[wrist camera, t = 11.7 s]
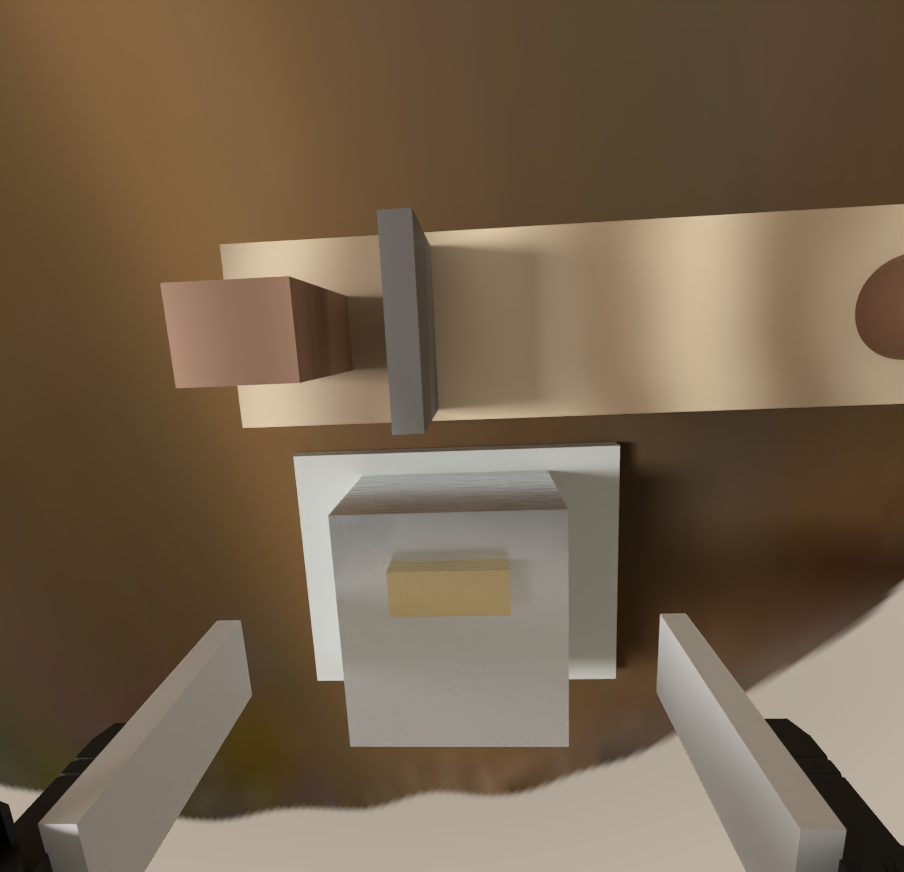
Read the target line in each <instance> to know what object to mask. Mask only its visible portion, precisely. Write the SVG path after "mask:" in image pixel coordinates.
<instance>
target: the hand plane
mask: <svg viewBox="0 0 904 872" xmlns="http://www.w3.org/2000/svg"><path fill="white" fill-rule="evenodd" d="M377 221H378V235H374V236H357V237H340V238H323V239H306V240H289V241H272V242H255V243H239V244H222V245H220V251H221V259H222V267H223V275H224V280H208V281H190V282H172V283H160V284H161V291H162V298H163V304H164V311H165V318H166V324H167V331H168V338H169V344H170V351H171V358H172V364H173V371H174V378H175V385H176V388H192V387H216V386H238V394H239V402H240V410H241V418H242V425H243V428H255V427H282V426H309V425H336V424H363V423H390V422H391V424H392V435H400V434H425V432H426V430H427V428H428V427H429V425H430V423H431V421H445V420H472V419H499V418H526V417H553V416H581V415H608V414H635V413H662V412H689V411H716V410H744V409H771V408H798V407H825V406H852V405H879V404H904V204H897V205H881V206H864V207H847V208H830V209H813V210H796V211H779V212H762V213H745V214H728V215H712V216H695V217H678V218H661V219H644V220H627V221H610V222H593V223H576V224H560V225H543V226H526V227H509V228H492V229H475V230H458V231H441V232H423V230H422V228H421V226H420V224H419V222H418V220H417V218H416V216H415V213H414V211H413V209H412V208H400V209H384V210H377Z"/></svg>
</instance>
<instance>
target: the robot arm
mask: <svg viewBox="0 0 904 872" xmlns="http://www.w3.org/2000/svg"><path fill="white" fill-rule="evenodd" d="M656 692H657V694H658V696H659V698H660V700H661V702H662V704H663V706H664V708H665V710H666V712H667V714H668V716H669V718H670V720H671V722H672V724H673V726H674V728H675V730H676V732H677V734H678V736H679V738H680V740H681V742H682V744H683V746H684V748H685V750H686V752H687V754H688V756H689V758H690V760H691V762H692V764H693V766H694V768H695V770H696V772H697V774H698V776H699V778H700V780H701V782H702V784H703V786H704V788H705V790H706V792H707V794H708V796H709V798H710V800H711V802H712V804H713V806H714V808H715V810H716V812H717V814H718V816H719V818H720V820H721V822H722V824H723V826H724V828H725V830H726V832H727V834H728V836H729V838H730V840H731V842H732V844H733V846H734V848H735V850H736V852H737V854H738V856H739V858H740V860H741V862H742V864H743V866H744V868H745V870H746V872H904V846H902V845H900V844H899V843H898V842H897V841H896V839H895V838H894V837H893V836H892V834H891V833H890V832H889V831H888V830H887V828H886V827H885V826H884V825H883V824H882V822H881V821H880V820H879V819H878V817H877V816H876V815H875V814H874V813H873V811H872V810H871V809H870V808H869V807H868V805H867V804H866V803H865V802H864V800H863V799H862V798H861V797H860V796H859V794H857V792H856V791H855V790H854V788H853V787H852V786H851V785H850V784H849V782H848V781H847V780H846V779H845V778H844V777H842V776H841V773H840V771H839V770H838V769H837V768H836V767H835V765H834V764H833V763H832V762H831V761H830V760H828V759H827V756H826V754H825V753H824V752H823V751H822V750H821V748H820V747H819V746H818V745H817V743H816V742H815V741H814V740H813V739H812V737H811V736H810V735H808V734H807V733H805V732H804V731H803V730H802V729H800V728H799V727H798V726H796V725H795V724H793V723H792V722H791V721H790V720H788V719H764V718H763V717H762V716H761V714H760V713H759V711H758V710H757V709H756V707H755V706H754V704H753V703H752V702H751V700H750V699H749V698H748V696H747V695H746V694H745V692H744V691H743V690H742V688H741V687H740V686H739V684H738V683H737V682H736V680H735V679H734V678H733V676H732V675H731V673H730V672H729V671H728V669H727V668H726V667H725V665H724V664H723V663H722V661H721V660H720V659H719V657H718V656H717V655H716V653H715V652H714V651H713V649H712V648H711V647H710V645H709V644H708V643H707V641H706V640H705V638H704V637H703V636H702V634H701V633H700V632H699V630H698V629H697V628H696V626H695V625H694V624H693V622H692V621H691V620H690V618H689V617H688V616H687V614H686V613H676V614H660V627H659V648H658V670H657V691H656ZM251 696H252V692H251V686H250V679H249V673H248V666H247V659H246V653H245V646H244V640H243V633H242V626H241V620H233V621H217V622H216V623H215V624H214V625H213V626H212V627H211V628H210V630H209V631H208V632H207V633H206V634H205V635H204V636H203V637H202V639H201V640H200V641H199V642H198V643H197V644H196V645H195V647H194V648H193V649H192V650H191V651H190V652H189V653H188V654H187V656H186V657H185V658H184V659H183V660H182V661H181V662H180V663H179V665H178V666H177V667H176V668H175V669H174V670H173V671H172V673H171V674H170V675H169V676H168V677H167V678H166V679H165V680H164V682H163V683H162V684H161V685H160V686H159V687H158V688H157V689H156V691H155V692H154V693H153V694H152V695H151V696H150V697H149V699H148V700H147V701H146V702H145V703H144V704H143V705H142V706H141V708H140V709H139V710H138V711H137V712H136V713H135V714H134V715H133V717H132V718H131V719H130V720H129V721H128V722H127V723H115V724H113V725H112V726H111V727H109V728H108V729H106V730H105V731H104V732H102V733H101V734H99V735H98V736H97V737H95V738H94V739H92V740H91V742H90V743H89V744H88V745H87V746H86V747H85V748H84V749H83V750H82V751H81V752H80V753H79V754H78V755H77V757H76V758H75V761H74V762H71V763H70V764H69V765H68V766H67V767H66V768H65V769H64V770H63V772H62V773H61V775H60V777H59V778H56V779H55V780H54V781H53V782H52V783H51V784H50V785H49V787H48V788H47V789H46V790H45V791H44V792H43V793H42V794H41V795H40V796H39V797H38V798H37V799H36V801H35V802H34V803H33V804H32V805H31V806H30V807H29V808H28V809H27V810H26V811H25V812H24V813H23V814H22V816H21V817H20V818H19V819H18V820H17V821H16V822H15V823H14V822H13V819H12V815H11V811H10V808H9V805H8V804H6V803H3V802H1V801H0V872H144V871H145V870H146V868H147V866H148V865H149V863H150V862H151V860H152V858H153V857H154V855H155V853H156V852H157V850H158V848H159V847H160V845H161V843H162V842H163V840H164V839H165V837H166V835H167V834H168V832H169V830H170V829H171V827H172V826H173V824H174V822H175V821H176V819H177V817H178V816H179V814H180V812H181V811H182V809H183V807H184V806H185V804H186V803H187V801H188V799H189V798H190V796H191V794H192V793H193V791H194V789H195V788H196V786H197V784H198V783H199V781H200V780H201V778H202V776H203V775H204V773H205V771H206V770H207V768H208V766H209V765H210V763H211V762H212V760H213V758H214V757H215V755H216V753H217V752H218V750H219V748H220V747H221V745H222V743H223V742H224V740H225V739H226V737H227V735H228V734H229V732H230V730H231V729H232V727H233V725H234V724H235V722H236V721H237V719H238V717H239V716H240V714H241V712H242V711H243V709H244V707H245V706H246V704H247V702H248V701H249V699H250V698H251Z"/></svg>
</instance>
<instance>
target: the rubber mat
mask: <svg viewBox="0 0 904 872" xmlns="http://www.w3.org/2000/svg"><path fill="white" fill-rule="evenodd" d="M293 457H294V466H295V475H296V484H297V494H298V503H299V512H300V521H301V531H302V540H303V549H304V558H305V568H306V577H307V586H308V595H309V605H310V614H311V623H312V632H313V642H314V651H315V660H316V669H317V679H318V681H335V680H344V674H343V663H342V653H341V643H340V632H339V622H338V612H337V602H336V591H335V581H334V571H333V560H332V550H331V540H330V530H329V519H328V515H329V514H330V513H331V512H332V511H333V509H334V508H335V507H336V506H337V505H338V504H339V502H340V501H341V500H342V499H343V498H344V497H345V495H346V494H347V493H348V492H349V491H350V490H351V488H352V487H353V486H354V485H355V484H356V482H357V481H358V480H359V479H360V478H361V477H362V476H373V475H405V474H438V473H470V472H502V471H535V470H547V471H548V473H549V474H550V476H551V478H552V480H553V482H554V484H555V485H556V487H557V489H558V491H559V493H560V495H561V497H562V498H563V500H564V502H565V504H566V506H567V508H568V569H569V679H616V637H617V584H618V532H619V479H620V445H619V444H617V443H616V442H594V443H564V444H534V445H505V446H475V447H445V448H415V449H386V450H356V451H326V452H300V453H298V454H297V455H295V456H293Z"/></svg>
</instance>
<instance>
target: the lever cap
mask: <svg viewBox="0 0 904 872" xmlns="http://www.w3.org/2000/svg"><path fill="white" fill-rule="evenodd" d="M328 519H329V530H330V540H331V550H332V560H333V571H334V581H335V591H336V602H337V612H338V622H339V632H340V643H341V653H342V663H343V674H344V684H345V694H346V705H347V715H348V725H349V735H350V746H368V747H569V569H568V508H567V506H566V504H565V502H564V500H563V498H562V497H561V495H560V493H559V491H558V489H557V487H556V485H555V484H554V482H553V480H552V478H551V476H550V474H549V473H548V471H547V470H535V471H502V472H470V473H438V474H405V475H373V476H362V477H361V478H360V479H359V480H358V481H357V482H356V484H355V485H354V486H353V487H352V488H351V490H350V491H349V492H348V493H347V494H346V495H345V497H344V498H343V499H342V500H341V501H340V502H339V504H338V505H337V506H336V507H335V508H334V509H333V511H332V512H331V513H330V514H329V515H328Z"/></svg>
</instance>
